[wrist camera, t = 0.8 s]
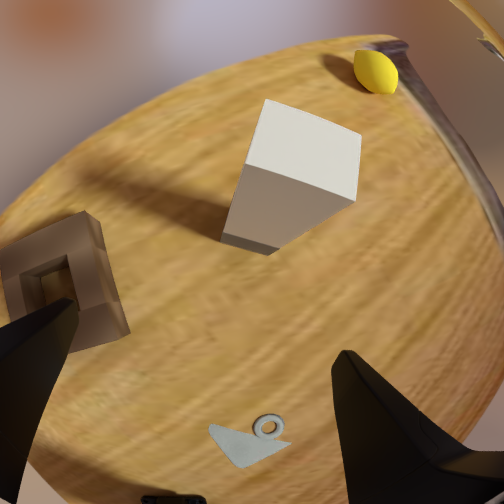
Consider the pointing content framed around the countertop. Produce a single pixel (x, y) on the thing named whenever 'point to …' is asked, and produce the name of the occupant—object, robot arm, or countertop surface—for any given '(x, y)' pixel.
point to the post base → (82, 270)
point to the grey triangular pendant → (249, 441)
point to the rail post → (291, 179)
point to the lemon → (375, 71)
